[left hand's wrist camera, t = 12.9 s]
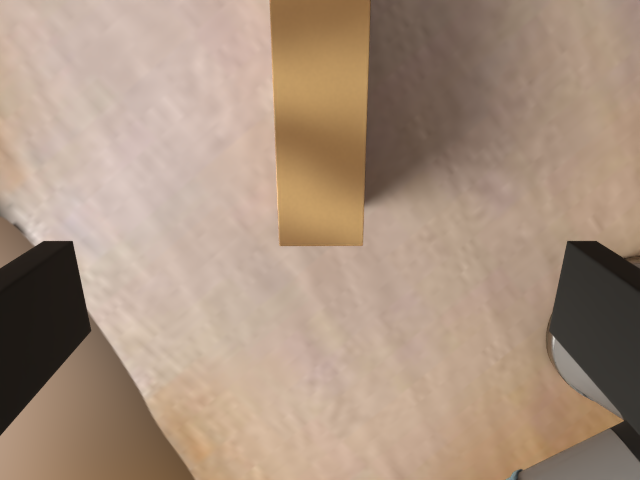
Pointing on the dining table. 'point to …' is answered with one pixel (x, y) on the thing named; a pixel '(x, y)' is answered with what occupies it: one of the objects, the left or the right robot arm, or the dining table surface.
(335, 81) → the bar
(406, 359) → the dining table surface
